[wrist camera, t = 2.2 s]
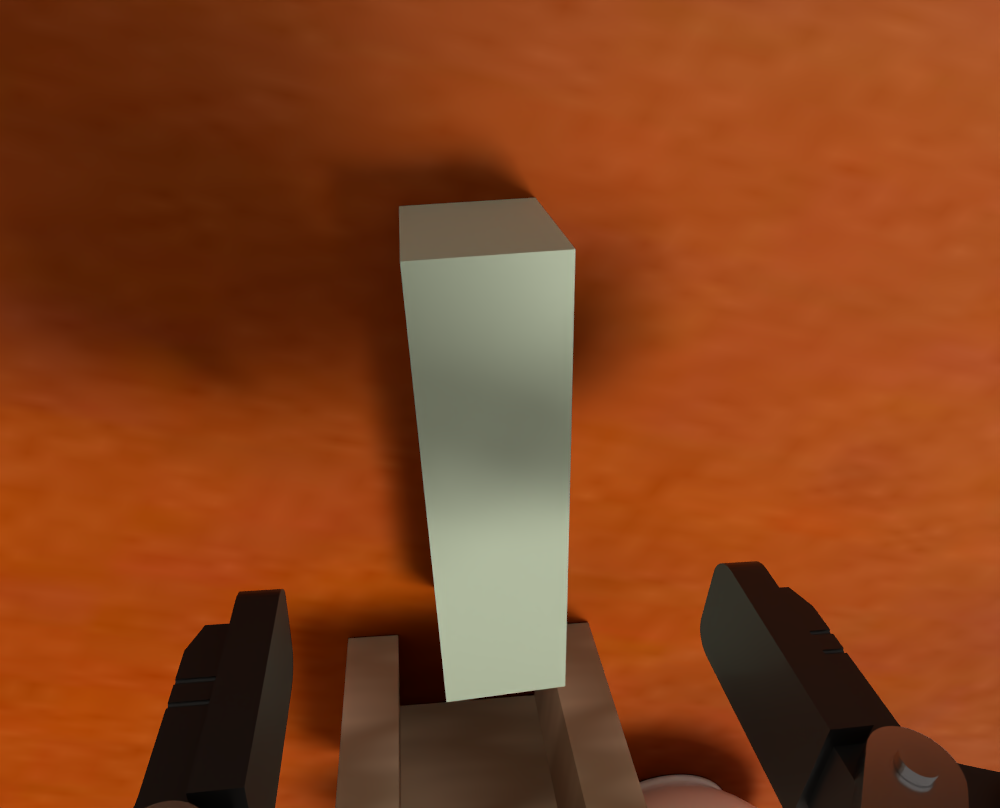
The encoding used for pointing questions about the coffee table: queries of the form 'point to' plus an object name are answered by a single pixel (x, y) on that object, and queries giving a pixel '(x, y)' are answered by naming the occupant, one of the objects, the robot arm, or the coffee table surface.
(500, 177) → the coffee table surface
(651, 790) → the lidded jar
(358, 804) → the block
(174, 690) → the robot arm
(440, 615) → the pale green rectangular bar
